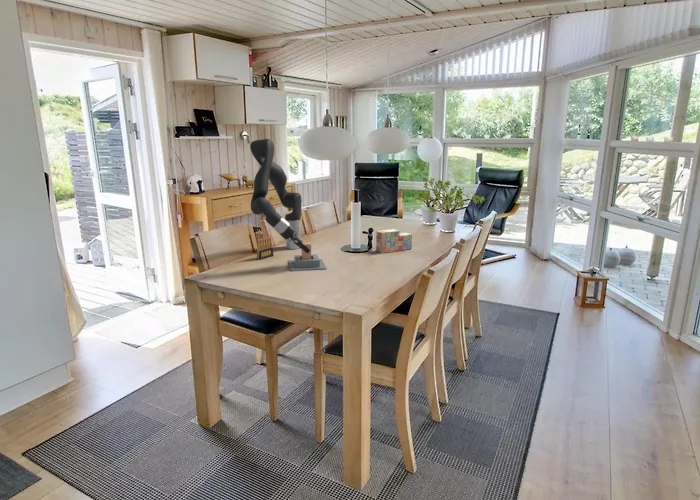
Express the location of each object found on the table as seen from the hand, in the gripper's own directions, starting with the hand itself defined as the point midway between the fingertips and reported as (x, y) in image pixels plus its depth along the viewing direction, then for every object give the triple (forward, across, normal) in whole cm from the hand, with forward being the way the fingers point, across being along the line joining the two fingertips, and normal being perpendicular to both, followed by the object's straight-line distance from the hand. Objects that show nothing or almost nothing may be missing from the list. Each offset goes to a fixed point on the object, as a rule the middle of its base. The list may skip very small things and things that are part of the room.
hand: (308, 250), depth 228 cm
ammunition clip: (-10, +19, +21) cm, 30 cm away
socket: (+5, 0, +6) cm, 8 cm away
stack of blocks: (+44, +24, -32) cm, 59 cm away
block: (+2, 0, +4) cm, 4 cm away
